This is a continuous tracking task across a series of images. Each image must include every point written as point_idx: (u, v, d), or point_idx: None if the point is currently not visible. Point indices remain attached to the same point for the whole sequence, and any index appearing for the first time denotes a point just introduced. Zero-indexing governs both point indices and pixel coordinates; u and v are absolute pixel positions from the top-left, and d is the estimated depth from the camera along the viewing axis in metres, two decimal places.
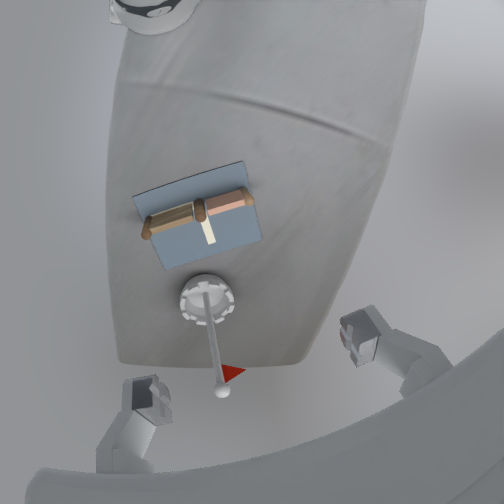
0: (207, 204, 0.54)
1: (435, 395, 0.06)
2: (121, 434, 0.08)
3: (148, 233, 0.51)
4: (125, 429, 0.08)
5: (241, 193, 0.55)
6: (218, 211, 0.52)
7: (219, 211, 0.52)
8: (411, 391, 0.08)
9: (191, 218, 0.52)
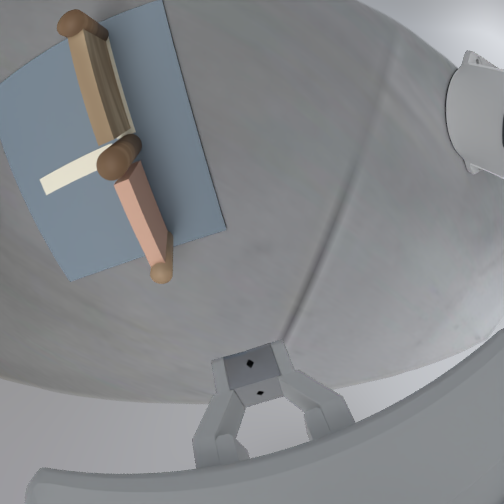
0: (136, 171, 0.20)
1: (435, 395, 0.06)
2: (222, 419, 0.08)
3: (72, 26, 0.10)
4: (225, 412, 0.08)
5: (166, 242, 0.24)
6: (127, 207, 0.18)
7: (127, 209, 0.19)
8: (310, 438, 0.08)
9: (105, 138, 0.16)
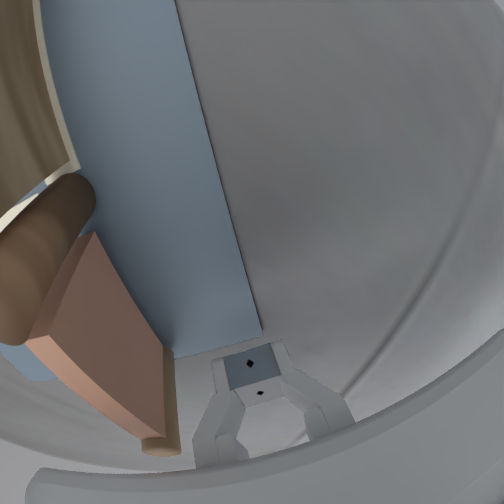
0: (78, 278, 0.08)
1: (435, 395, 0.06)
2: (222, 419, 0.08)
3: None
4: (225, 412, 0.08)
5: (162, 381, 0.12)
6: (68, 380, 0.06)
7: (70, 383, 0.07)
8: (310, 438, 0.08)
9: None
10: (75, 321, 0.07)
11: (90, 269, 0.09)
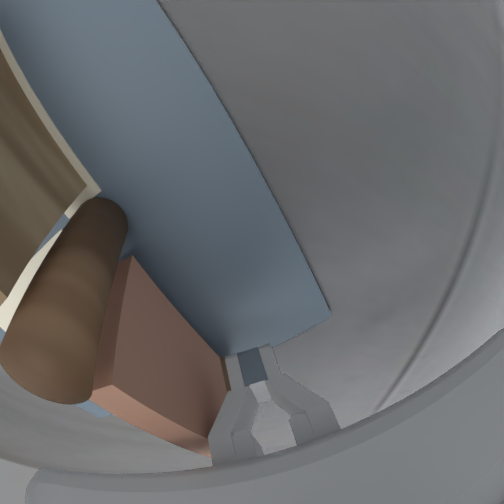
0: (127, 311, 0.08)
1: (435, 395, 0.06)
2: (238, 415, 0.08)
3: None
4: (241, 408, 0.08)
5: None
6: (137, 421, 0.06)
7: (140, 423, 0.07)
8: None
9: None
10: (135, 359, 0.07)
11: (137, 297, 0.09)
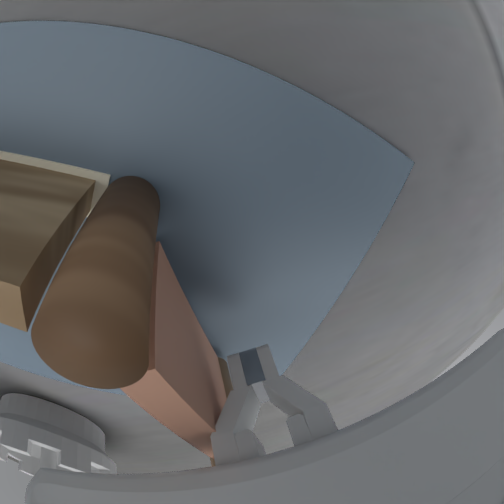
0: (159, 295, 0.08)
1: (435, 395, 0.06)
2: (240, 414, 0.08)
3: None
4: (244, 408, 0.08)
5: (226, 395, 0.12)
6: (159, 412, 0.06)
7: (160, 415, 0.06)
8: None
9: (11, 306, 0.04)
10: (168, 346, 0.07)
11: (165, 284, 0.09)
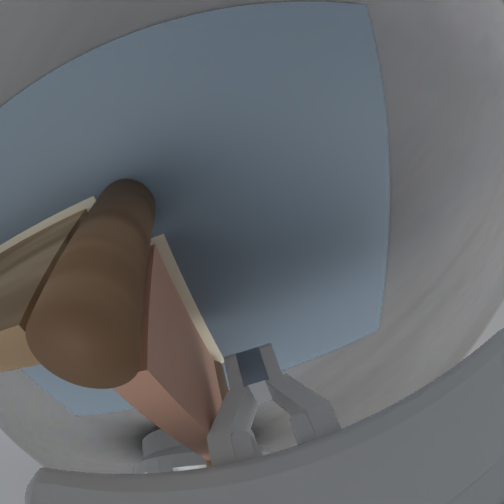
0: (154, 297, 0.08)
1: (435, 395, 0.06)
2: (237, 415, 0.08)
3: None
4: (240, 408, 0.08)
5: (221, 397, 0.12)
6: (153, 413, 0.06)
7: (154, 416, 0.06)
8: None
9: (27, 346, 0.04)
10: (162, 347, 0.07)
11: (159, 286, 0.09)
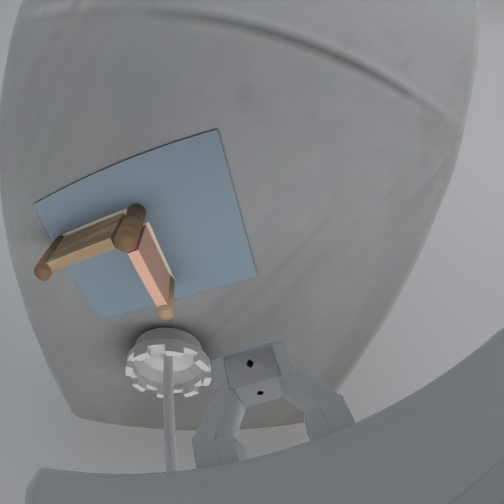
0: (143, 238, 0.27)
1: (435, 395, 0.06)
2: (222, 419, 0.08)
3: (43, 271, 0.23)
4: (225, 412, 0.08)
5: (168, 287, 0.32)
6: (138, 268, 0.26)
7: (138, 270, 0.26)
8: (310, 438, 0.08)
9: (110, 244, 0.24)
10: (143, 249, 0.26)
11: (146, 237, 0.28)
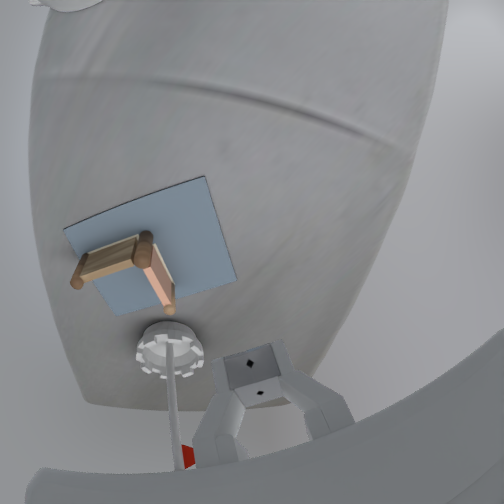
0: (152, 257, 0.38)
1: (435, 395, 0.06)
2: (222, 419, 0.08)
3: (78, 282, 0.34)
4: (225, 412, 0.08)
5: (171, 291, 0.43)
6: (150, 279, 0.37)
7: (150, 280, 0.37)
8: (310, 438, 0.08)
9: (130, 263, 0.35)
10: (153, 265, 0.37)
11: (154, 255, 0.39)
